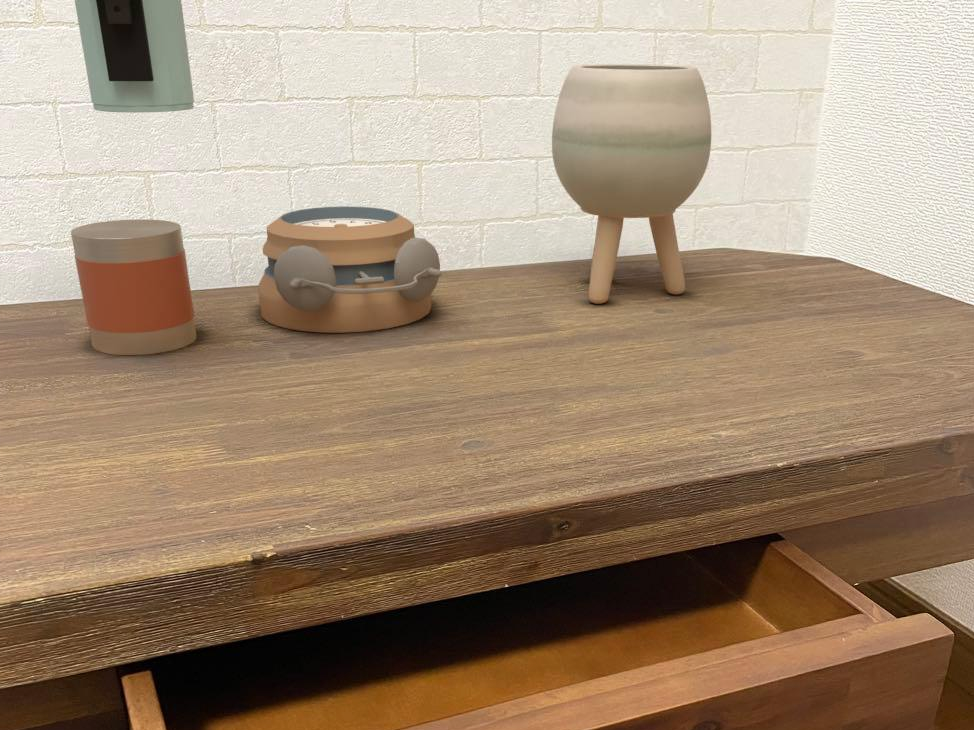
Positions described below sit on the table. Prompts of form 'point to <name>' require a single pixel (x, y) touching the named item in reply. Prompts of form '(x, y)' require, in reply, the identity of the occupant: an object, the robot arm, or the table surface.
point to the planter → (632, 155)
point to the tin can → (135, 286)
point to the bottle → (166, 61)
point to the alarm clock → (346, 271)
